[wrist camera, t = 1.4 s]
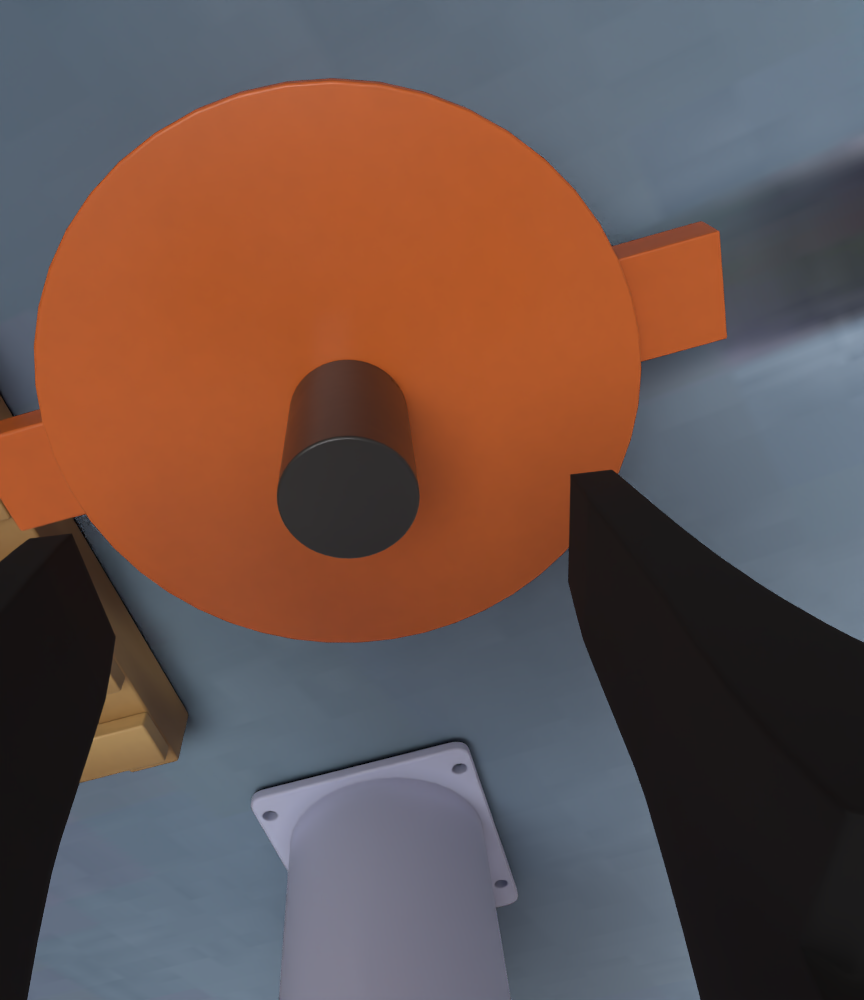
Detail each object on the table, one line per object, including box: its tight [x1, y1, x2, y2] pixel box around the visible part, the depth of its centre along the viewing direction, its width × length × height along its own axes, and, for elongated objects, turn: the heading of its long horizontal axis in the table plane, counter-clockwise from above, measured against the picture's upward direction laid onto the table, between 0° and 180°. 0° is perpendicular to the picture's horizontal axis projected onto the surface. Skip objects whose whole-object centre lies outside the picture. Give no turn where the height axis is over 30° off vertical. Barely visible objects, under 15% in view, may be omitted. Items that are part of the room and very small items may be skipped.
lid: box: [34, 78, 641, 642], centre depth 16 cm, size 12×12×5 cm
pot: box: [0, 221, 727, 531], centre depth 19 cm, size 11×17×4 cm
